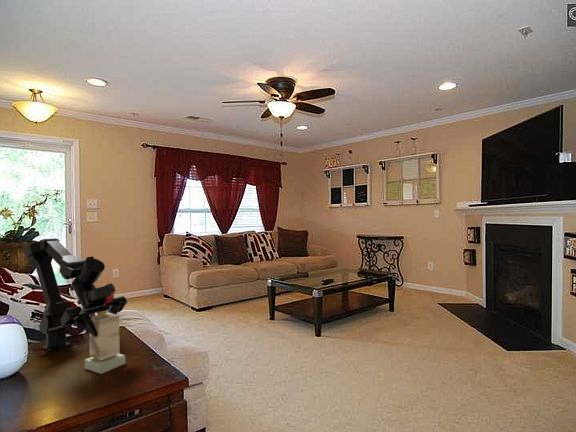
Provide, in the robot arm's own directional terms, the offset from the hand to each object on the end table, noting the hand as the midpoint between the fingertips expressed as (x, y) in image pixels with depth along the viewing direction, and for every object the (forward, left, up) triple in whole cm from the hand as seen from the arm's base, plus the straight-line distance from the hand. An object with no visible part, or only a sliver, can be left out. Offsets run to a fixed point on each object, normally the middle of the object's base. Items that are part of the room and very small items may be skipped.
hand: (106, 332), depth 109 cm
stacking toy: (-21, +14, -11) cm, 28 cm away
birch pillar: (-1, 0, -7) cm, 7 cm away
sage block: (-1, 0, -11) cm, 11 cm away
